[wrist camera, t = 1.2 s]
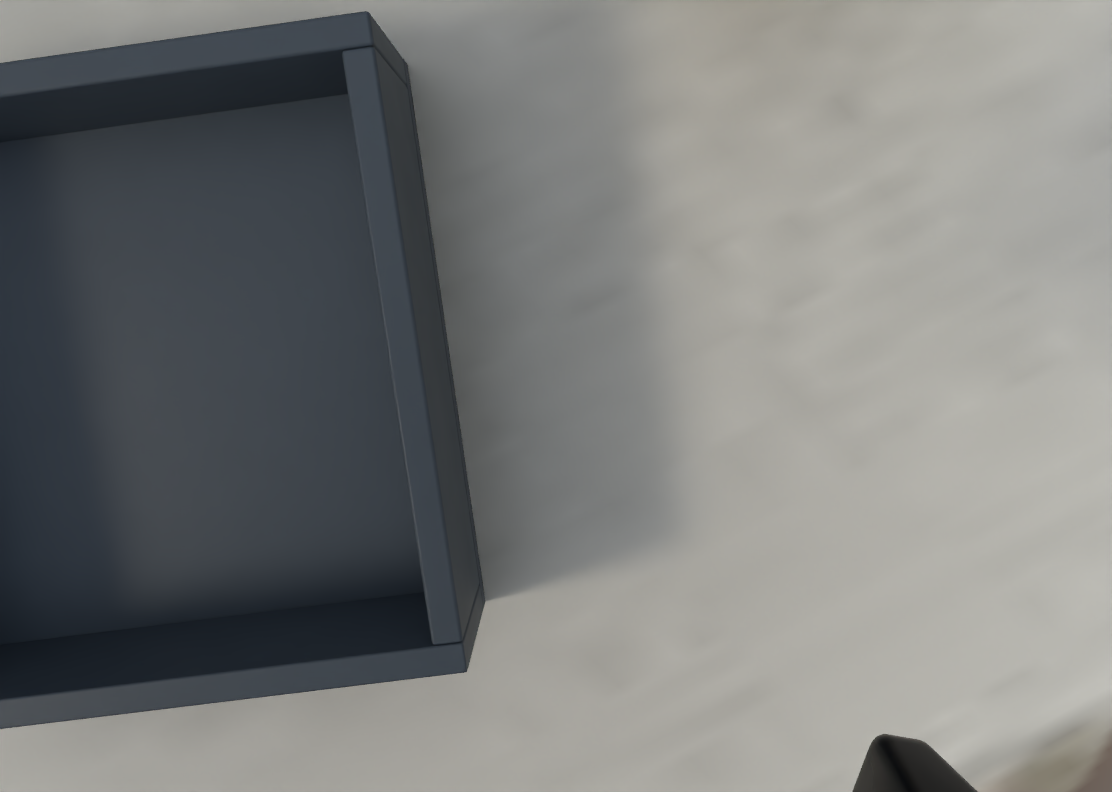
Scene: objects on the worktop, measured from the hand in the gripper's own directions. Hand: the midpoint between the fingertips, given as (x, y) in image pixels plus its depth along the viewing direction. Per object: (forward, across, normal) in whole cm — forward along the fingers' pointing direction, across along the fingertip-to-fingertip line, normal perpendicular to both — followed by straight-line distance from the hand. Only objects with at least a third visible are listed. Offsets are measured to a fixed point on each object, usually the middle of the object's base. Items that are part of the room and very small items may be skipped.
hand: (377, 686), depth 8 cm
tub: (+13, +7, +3) cm, 15 cm away
